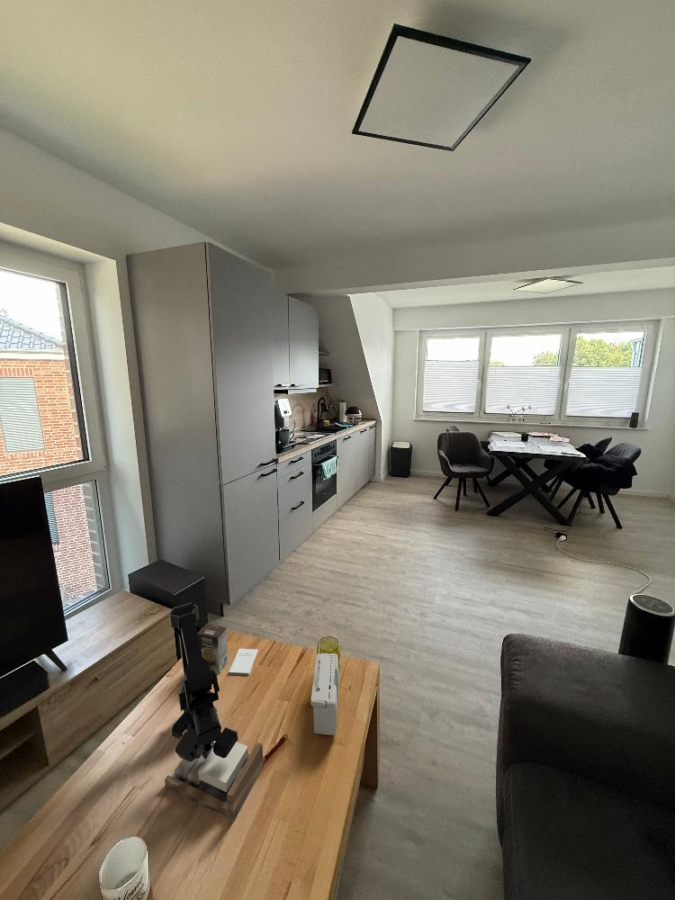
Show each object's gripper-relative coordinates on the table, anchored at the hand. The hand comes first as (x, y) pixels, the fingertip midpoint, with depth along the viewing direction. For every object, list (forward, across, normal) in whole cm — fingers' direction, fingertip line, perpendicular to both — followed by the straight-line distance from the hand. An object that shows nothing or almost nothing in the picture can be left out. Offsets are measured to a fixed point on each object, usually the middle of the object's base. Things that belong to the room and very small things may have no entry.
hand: (206, 757), depth 102 cm
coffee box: (+6, -25, +33) cm, 42 cm away
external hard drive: (+6, -15, +38) cm, 42 cm away
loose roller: (+5, +7, 0) cm, 8 cm away
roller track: (+6, +3, 0) cm, 6 cm away
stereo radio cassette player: (+6, +24, +31) cm, 40 cm away
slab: (+1, +6, 0) cm, 6 cm away
